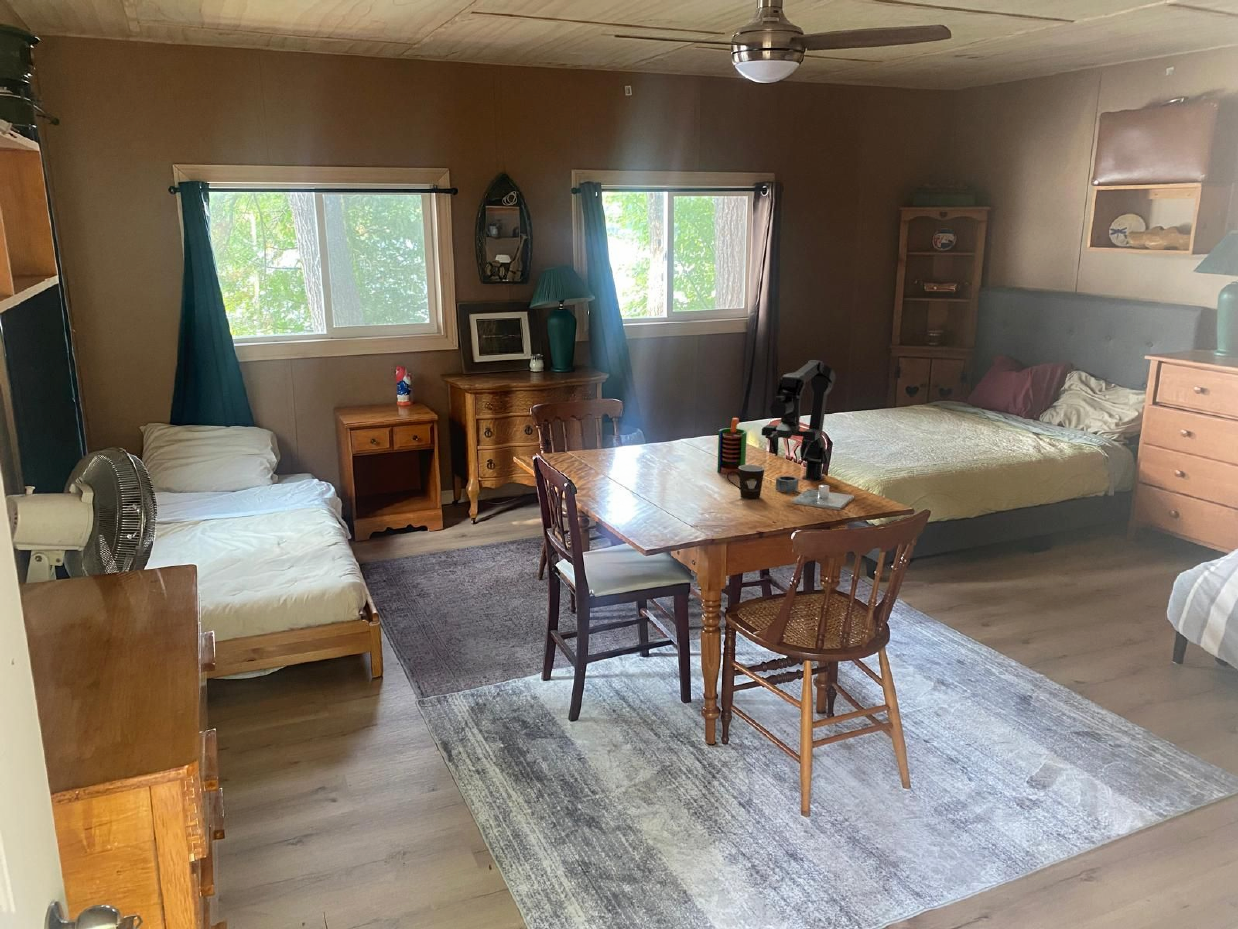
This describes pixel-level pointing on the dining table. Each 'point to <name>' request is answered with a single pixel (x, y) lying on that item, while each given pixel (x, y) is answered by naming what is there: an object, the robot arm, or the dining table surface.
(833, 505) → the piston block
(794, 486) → the octagonal hollow lampshade
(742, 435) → the motor
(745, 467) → the coffee mug
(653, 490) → the dining table surface
